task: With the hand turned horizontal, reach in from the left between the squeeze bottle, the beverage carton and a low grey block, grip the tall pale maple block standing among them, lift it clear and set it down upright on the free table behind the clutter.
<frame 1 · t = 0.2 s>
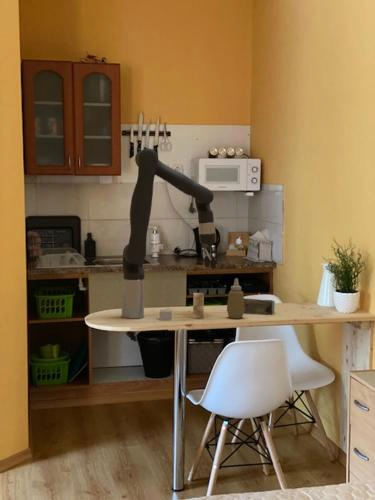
hand: (210, 267, 296), 22 cm above the table, tool pointing down, fingers open, 8 cm apart
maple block: (198, 317, 290), on the table
beverage carton: (253, 313, 307), on the table
squeeze bottle: (235, 318, 292), on the table
grey block: (165, 319, 285), on the table
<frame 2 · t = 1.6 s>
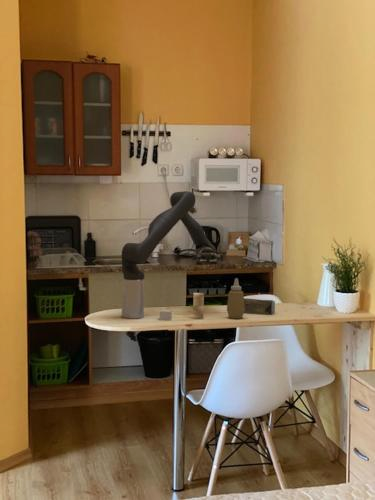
hand: (208, 258, 295), 26 cm above the table, tool horizontal, fingers open, 8 cm apart
nothing on the table moved.
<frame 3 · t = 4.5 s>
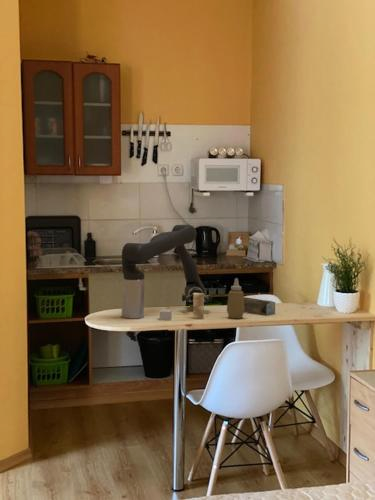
hand: (197, 300, 299), 6 cm above the table, tool horizontal, fingers open, 8 cm apart
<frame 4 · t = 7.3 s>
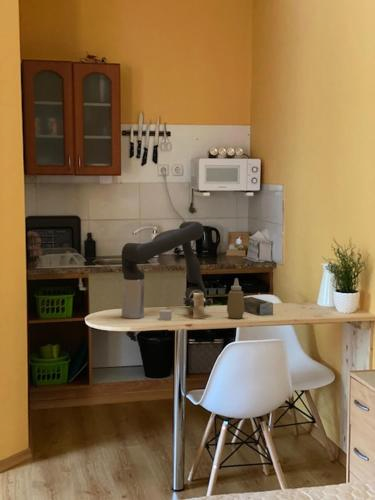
hand: (198, 304, 287), 7 cm above the table, tool horizontal, fingers closed on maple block, 4 cm apart
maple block: (198, 317, 290), on the table, touching gripper
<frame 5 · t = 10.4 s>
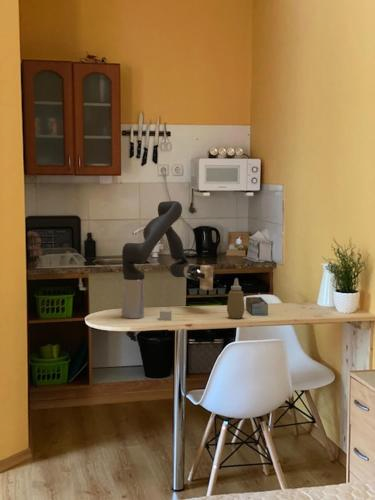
hand: (209, 276, 300), 18 cm above the table, tool horizontal, fingers closed on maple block, 4 cm apart
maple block: (206, 289, 303), point 11 cm above the table, touching gripper
when the fingers open (8 cm above the table, at t = 13.4 s): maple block drops 1 cm, on the table.
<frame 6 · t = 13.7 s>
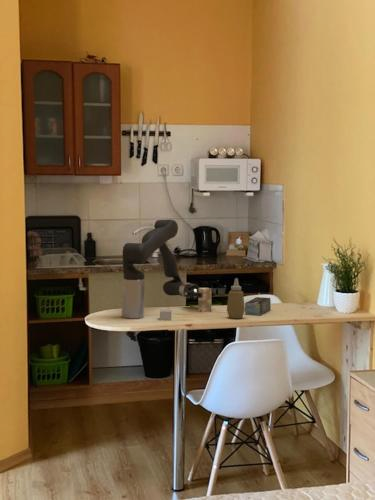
hand: (207, 295, 306), 8 cm above the table, tool horizontal, fingers open, 7 cm apart
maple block: (204, 311, 309), on the table
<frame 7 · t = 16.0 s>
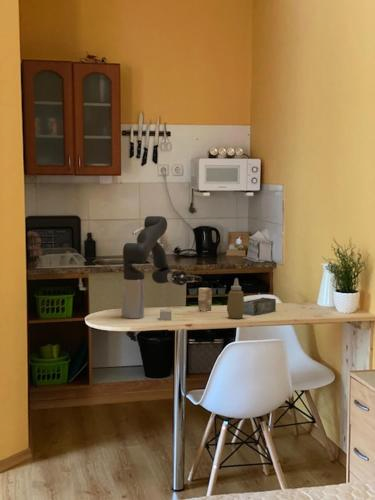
hand: (194, 280, 316), 14 cm above the table, tool horizontal, fingers open, 8 cm apart
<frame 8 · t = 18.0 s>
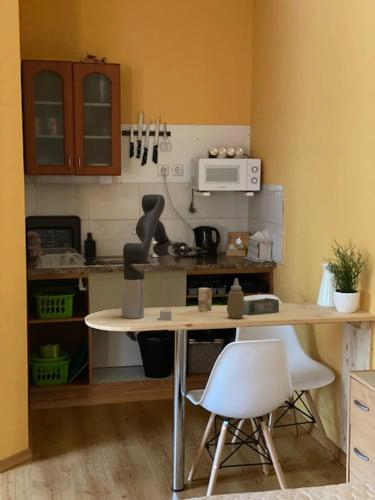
hand: (194, 251, 315), 28 cm above the table, tool horizontal, fingers open, 8 cm apart
at the end: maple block inside the target area (0.0 cm from its centre), on the table; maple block tilted 0°; the gripper is holding nothing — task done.
